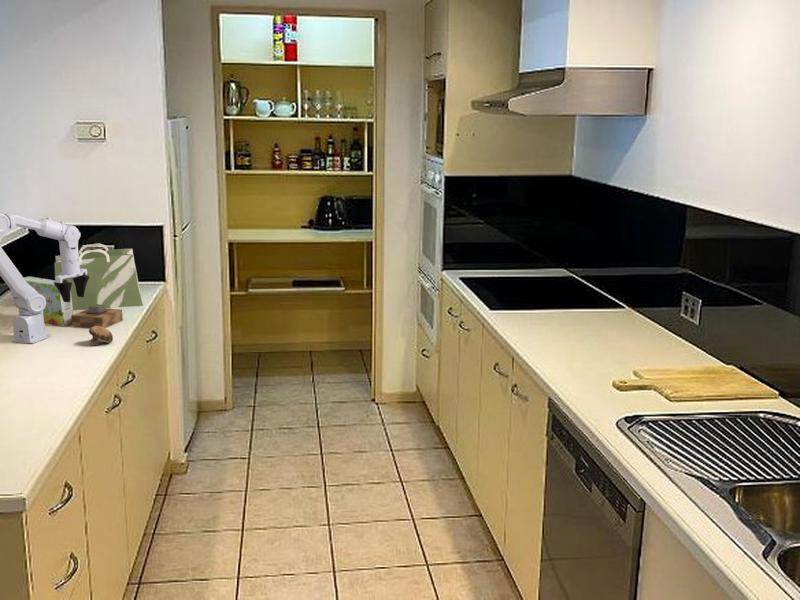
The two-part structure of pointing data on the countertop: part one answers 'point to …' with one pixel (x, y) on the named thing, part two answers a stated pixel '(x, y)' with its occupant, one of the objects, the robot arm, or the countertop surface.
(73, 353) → the countertop surface
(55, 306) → the snack box
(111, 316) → the socket block
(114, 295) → the grocery bag
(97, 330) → the mushroom
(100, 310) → the square bit
